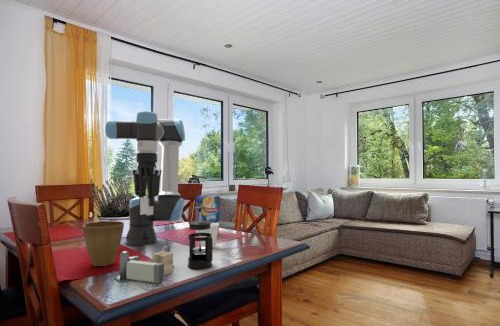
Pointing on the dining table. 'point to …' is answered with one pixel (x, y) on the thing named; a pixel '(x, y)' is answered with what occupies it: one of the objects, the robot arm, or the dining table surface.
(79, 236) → the dining table surface
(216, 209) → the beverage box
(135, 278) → the gate
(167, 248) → the post
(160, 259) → the block
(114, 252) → the plant pot
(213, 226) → the cup
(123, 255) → the metal knob post
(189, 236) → the french press
